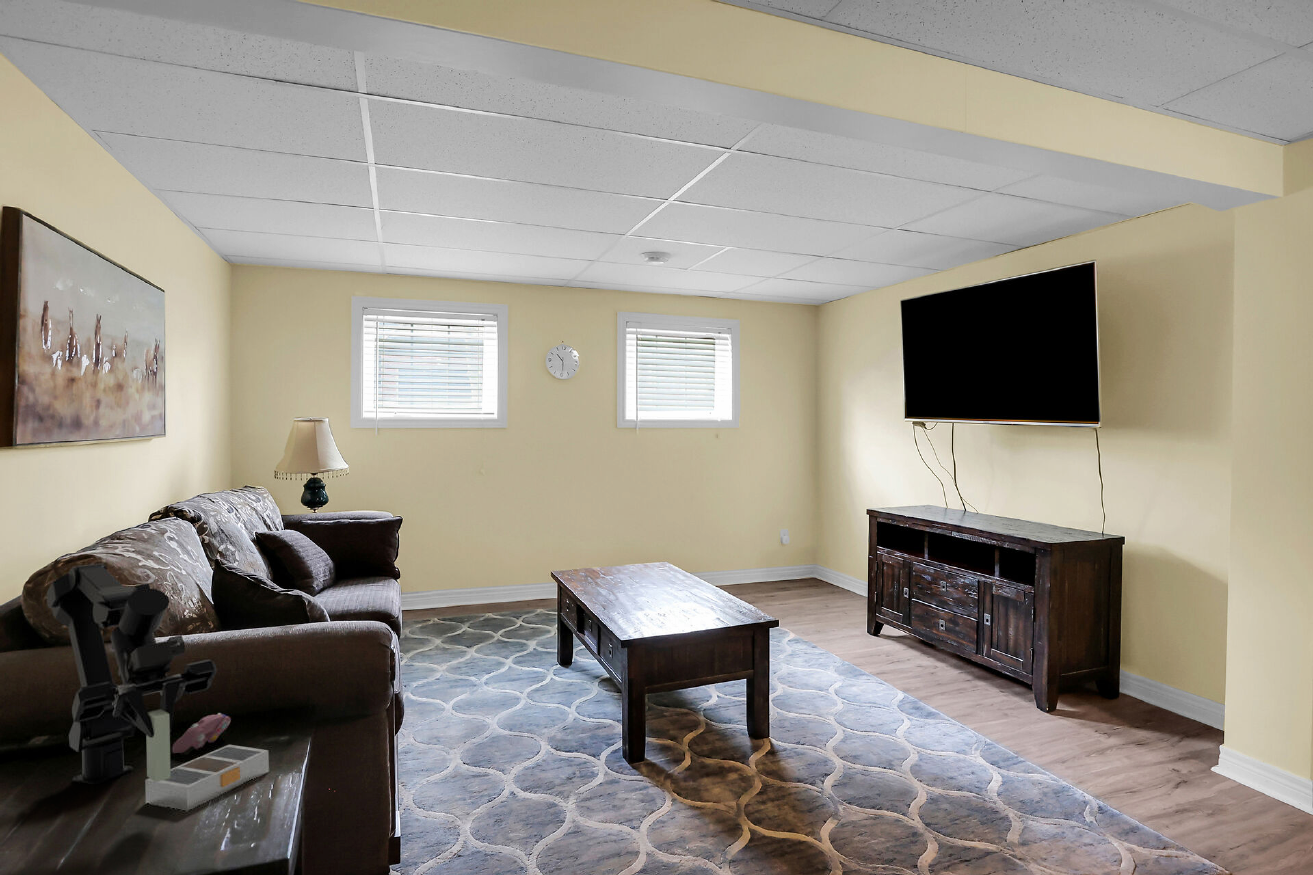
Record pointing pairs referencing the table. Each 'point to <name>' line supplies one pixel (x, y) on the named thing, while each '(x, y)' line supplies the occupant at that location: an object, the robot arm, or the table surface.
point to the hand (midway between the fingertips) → (161, 733)
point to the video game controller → (202, 732)
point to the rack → (207, 777)
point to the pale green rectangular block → (159, 747)
